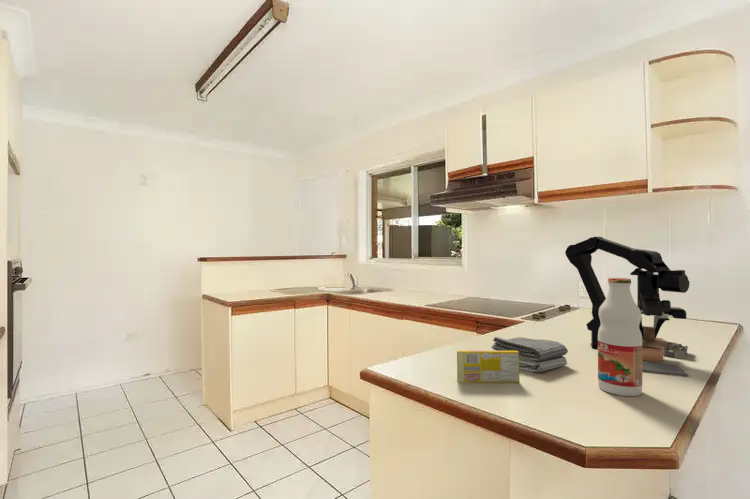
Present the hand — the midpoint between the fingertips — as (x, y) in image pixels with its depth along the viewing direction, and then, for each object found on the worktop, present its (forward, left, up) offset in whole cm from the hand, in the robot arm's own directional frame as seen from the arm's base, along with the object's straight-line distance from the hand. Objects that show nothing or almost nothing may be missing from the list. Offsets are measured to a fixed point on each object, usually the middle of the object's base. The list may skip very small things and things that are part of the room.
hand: (648, 338), depth 125 cm
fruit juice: (-13, -37, -7) cm, 40 cm away
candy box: (-44, -44, -7) cm, 63 cm away
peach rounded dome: (0, 0, -7) cm, 7 cm away
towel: (-35, -21, -7) cm, 42 cm away
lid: (0, 0, -2) cm, 2 cm away
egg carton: (+9, +10, -7) cm, 15 cm away
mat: (0, -12, -7) cm, 14 cm away
